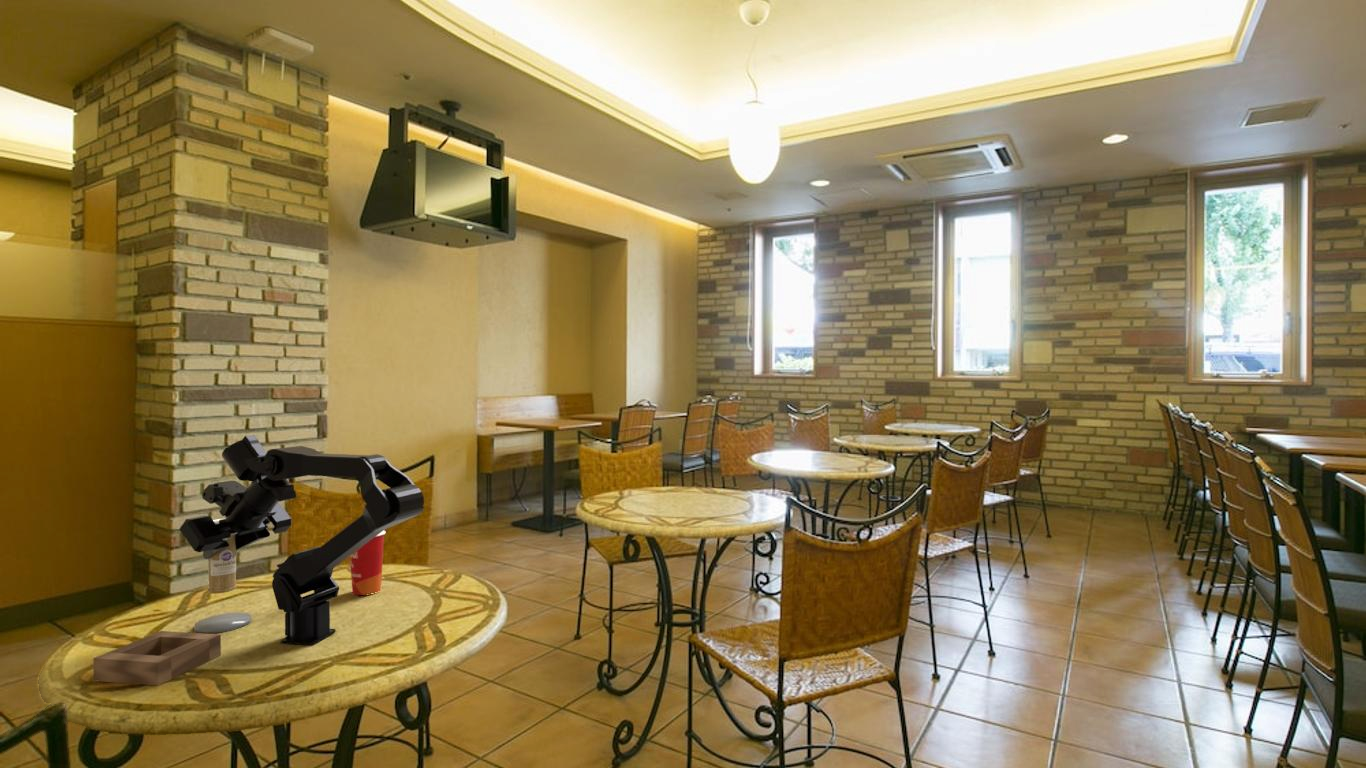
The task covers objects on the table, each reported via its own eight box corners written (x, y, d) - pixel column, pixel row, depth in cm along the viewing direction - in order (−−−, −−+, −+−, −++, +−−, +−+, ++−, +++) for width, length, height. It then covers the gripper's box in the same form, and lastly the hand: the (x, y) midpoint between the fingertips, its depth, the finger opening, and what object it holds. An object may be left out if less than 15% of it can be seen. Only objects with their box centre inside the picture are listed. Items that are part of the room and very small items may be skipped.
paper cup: (350, 588, 151) (350, 525, 151) (387, 585, 154) (387, 523, 154) (344, 599, 144) (343, 533, 144) (383, 595, 146) (383, 530, 146)
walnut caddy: (220, 655, 114) (220, 634, 114) (158, 685, 103) (158, 662, 103) (161, 651, 116) (161, 630, 116) (93, 680, 105) (93, 658, 105)
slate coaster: (262, 617, 133) (262, 613, 133) (225, 634, 124) (225, 630, 124) (222, 615, 134) (222, 611, 134) (181, 632, 125) (181, 627, 125)
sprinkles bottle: (218, 595, 126) (217, 523, 126) (202, 592, 127) (201, 521, 127) (242, 588, 130) (241, 518, 130) (226, 585, 132) (225, 516, 132)
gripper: (280, 461, 136) (239, 513, 140) (186, 473, 118) (142, 533, 122) (311, 502, 134) (269, 554, 137) (220, 521, 116) (174, 580, 119)
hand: (216, 554), depth 129 cm, fingers closed on sprinkles bottle, 4 cm apart
